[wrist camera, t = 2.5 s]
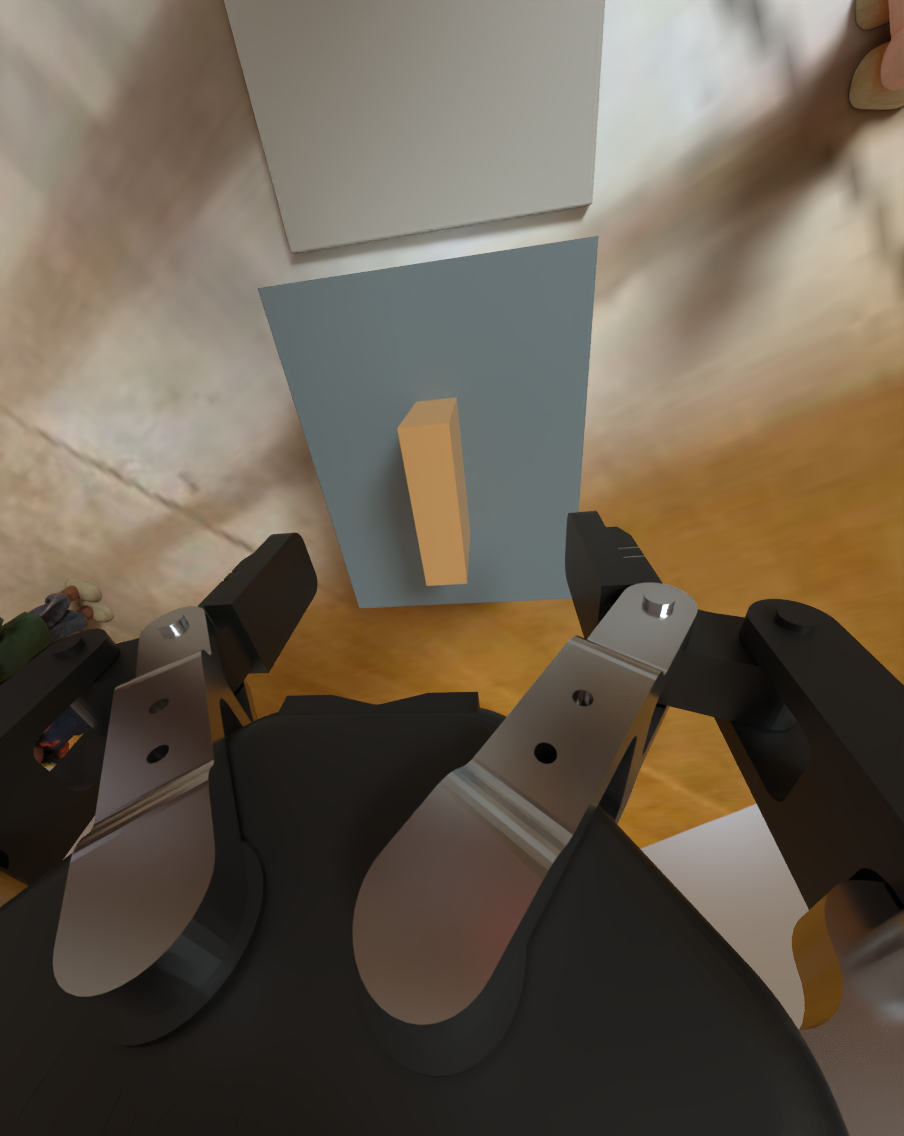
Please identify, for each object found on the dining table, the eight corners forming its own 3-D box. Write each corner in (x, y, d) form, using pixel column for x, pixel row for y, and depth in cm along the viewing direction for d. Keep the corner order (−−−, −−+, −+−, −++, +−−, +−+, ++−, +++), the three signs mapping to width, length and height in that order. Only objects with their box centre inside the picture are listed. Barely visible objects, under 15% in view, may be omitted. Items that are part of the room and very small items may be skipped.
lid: (280, 290, 15) (183, 282, 10) (585, 243, 14) (641, 209, 9) (367, 588, 23) (336, 663, 18) (566, 578, 21) (589, 656, 17)
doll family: (168, 728, 44) (63, 870, 33) (88, 717, 44) (-45, 855, 33) (89, 560, 31) (-129, 701, 20) (-26, 543, 31) (-310, 675, 20)
